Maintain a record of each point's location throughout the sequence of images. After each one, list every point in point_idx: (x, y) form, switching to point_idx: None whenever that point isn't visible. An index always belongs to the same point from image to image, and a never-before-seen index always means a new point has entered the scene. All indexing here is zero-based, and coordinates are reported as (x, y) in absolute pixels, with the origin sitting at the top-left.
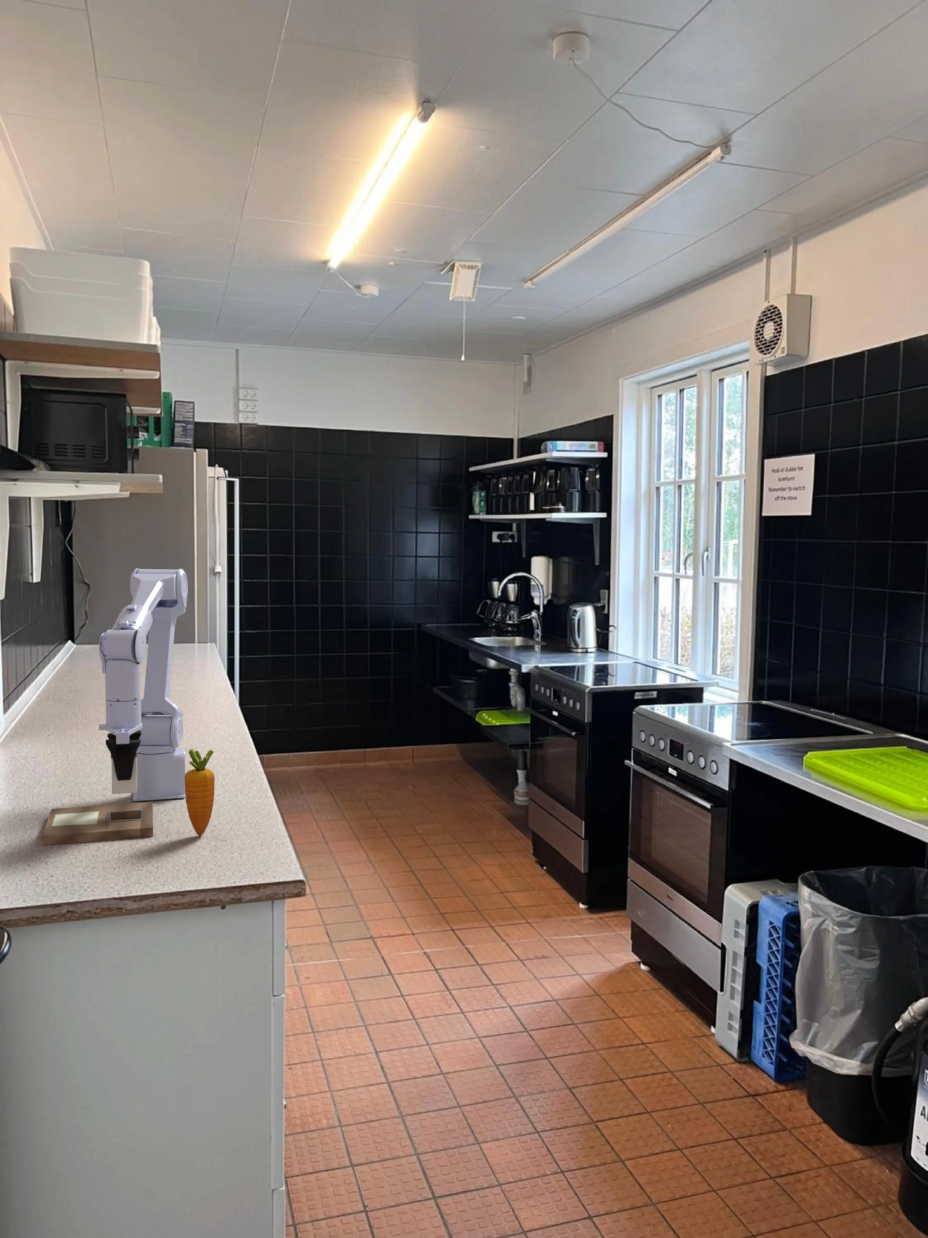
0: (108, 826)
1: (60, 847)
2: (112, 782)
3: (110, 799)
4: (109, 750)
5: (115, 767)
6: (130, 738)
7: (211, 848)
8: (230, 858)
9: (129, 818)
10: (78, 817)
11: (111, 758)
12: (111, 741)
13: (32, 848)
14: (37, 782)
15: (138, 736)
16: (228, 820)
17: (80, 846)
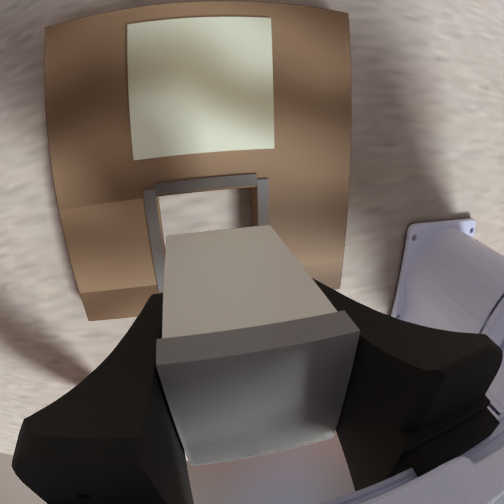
0: (101, 202)
1: (28, 87)
2: (166, 261)
3: (445, 168)
4: (46, 407)
5: (128, 332)
6: (367, 461)
7: (36, 398)
8: (3, 413)
9: None
10: (213, 89)
11: (158, 344)
12: (47, 486)
13: (40, 18)
14: None
15: (359, 489)
16: None
17: (26, 139)
